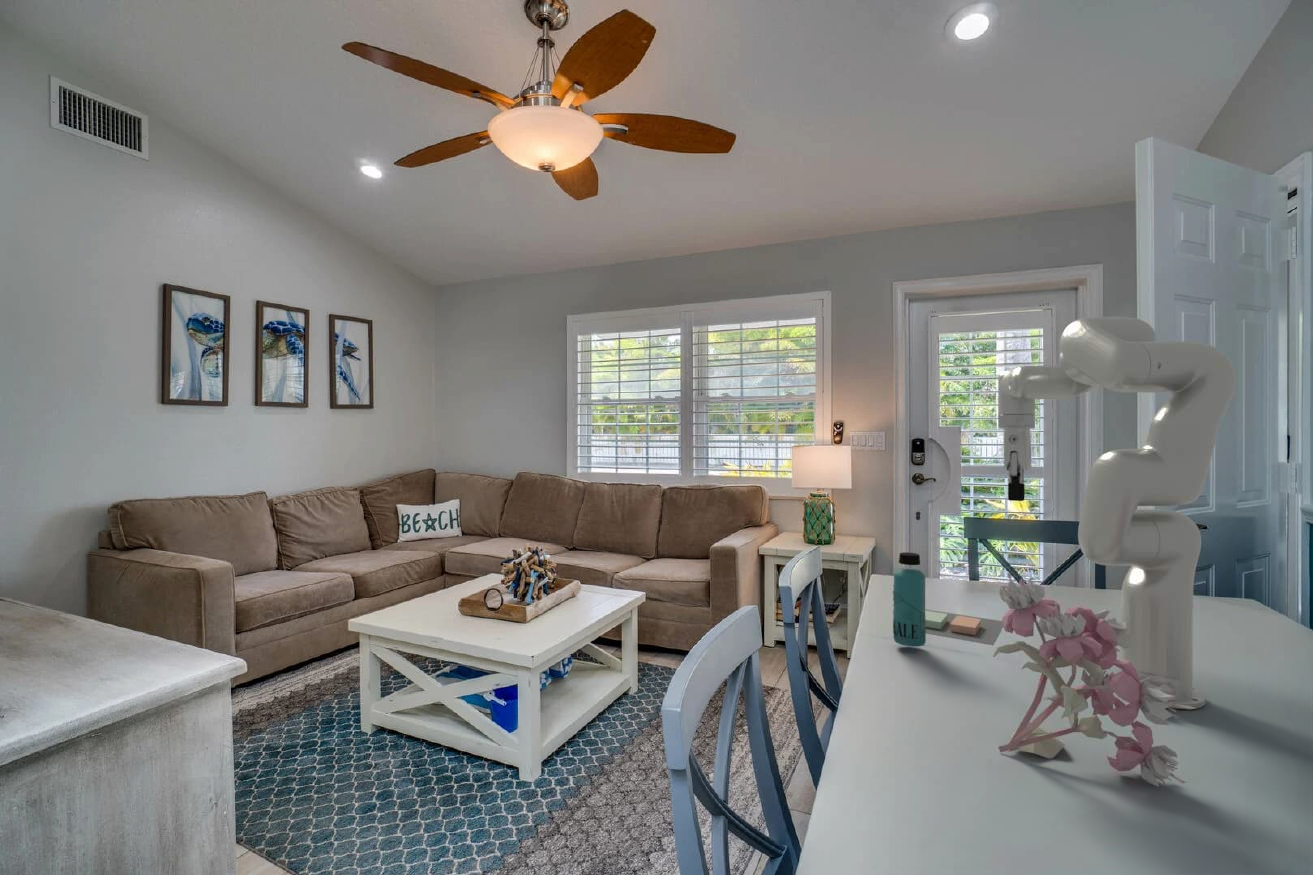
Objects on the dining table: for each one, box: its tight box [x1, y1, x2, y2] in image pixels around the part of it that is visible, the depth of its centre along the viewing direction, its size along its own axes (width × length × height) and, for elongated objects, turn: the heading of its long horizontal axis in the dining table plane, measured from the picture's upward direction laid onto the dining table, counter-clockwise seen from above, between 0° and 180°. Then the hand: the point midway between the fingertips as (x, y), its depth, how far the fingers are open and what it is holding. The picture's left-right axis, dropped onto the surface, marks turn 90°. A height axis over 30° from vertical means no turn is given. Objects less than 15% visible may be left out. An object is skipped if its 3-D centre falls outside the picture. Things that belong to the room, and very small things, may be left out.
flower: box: [992, 572, 1197, 787], centre depth 83 cm, size 20×22×25 cm
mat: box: [925, 608, 1004, 646], centre depth 143 cm, size 20×20×1 cm
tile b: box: [925, 611, 948, 629], centre depth 144 cm, size 2×5×8 cm
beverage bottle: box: [892, 551, 927, 648], centre depth 129 cm, size 6×7×20 cm
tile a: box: [950, 615, 981, 635], centre depth 140 cm, size 2×5×8 cm
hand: (1016, 500), depth 146 cm, fingers closed
